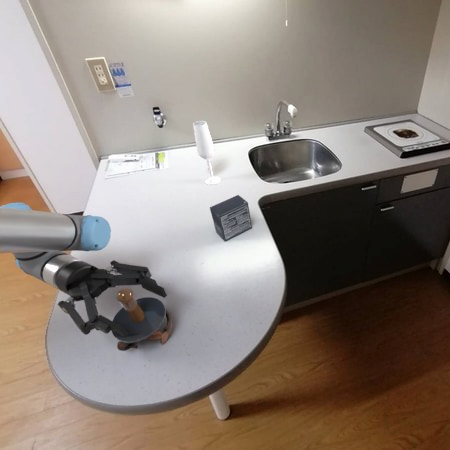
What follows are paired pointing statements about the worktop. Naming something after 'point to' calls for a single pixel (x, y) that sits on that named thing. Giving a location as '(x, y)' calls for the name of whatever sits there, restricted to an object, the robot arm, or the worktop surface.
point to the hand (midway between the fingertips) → (145, 311)
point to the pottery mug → (156, 335)
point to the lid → (138, 316)
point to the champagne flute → (205, 148)
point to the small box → (231, 217)
